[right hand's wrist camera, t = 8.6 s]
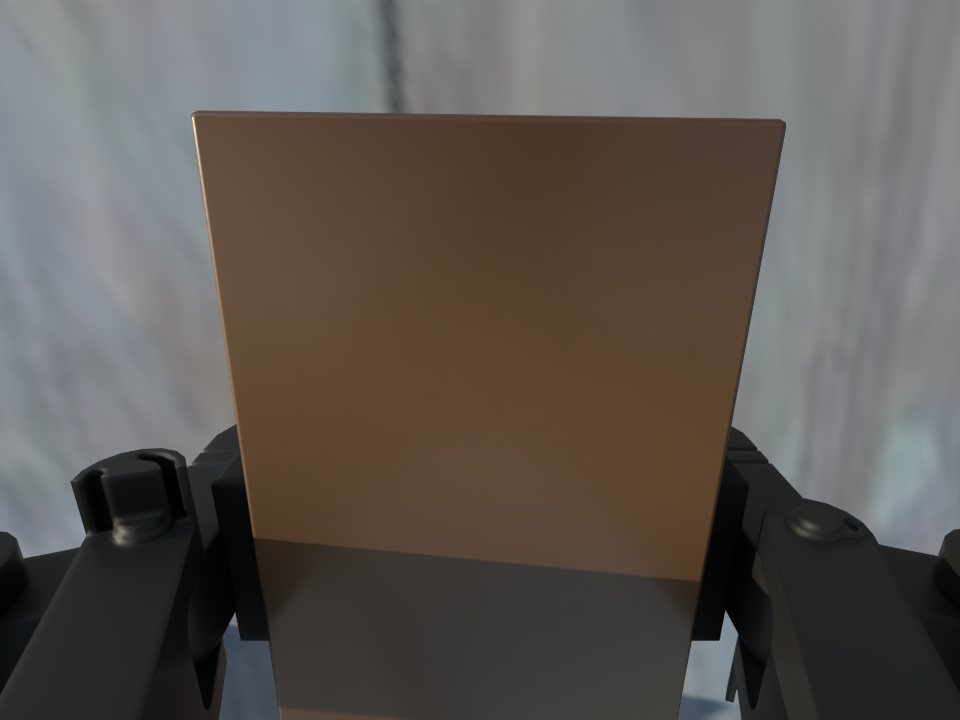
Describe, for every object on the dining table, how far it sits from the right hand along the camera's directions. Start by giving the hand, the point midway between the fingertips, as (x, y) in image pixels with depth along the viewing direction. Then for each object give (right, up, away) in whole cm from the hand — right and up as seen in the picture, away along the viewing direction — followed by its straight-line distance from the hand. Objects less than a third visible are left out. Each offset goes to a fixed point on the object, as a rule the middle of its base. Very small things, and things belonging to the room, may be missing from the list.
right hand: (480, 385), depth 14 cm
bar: (0, -25, +10) cm, 26 cm away
